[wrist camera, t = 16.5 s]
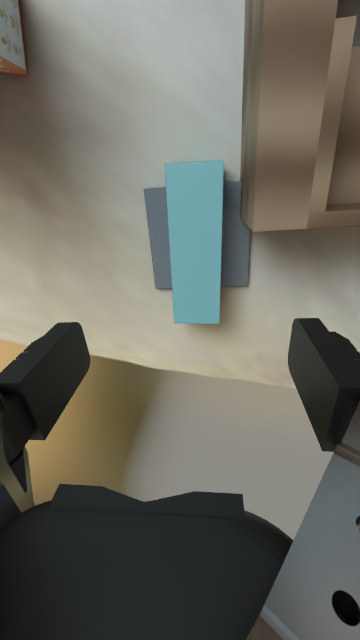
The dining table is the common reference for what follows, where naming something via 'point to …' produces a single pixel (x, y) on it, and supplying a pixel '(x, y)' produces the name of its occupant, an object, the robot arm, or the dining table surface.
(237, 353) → the dining table surface
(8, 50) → the cracker box
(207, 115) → the dining table surface
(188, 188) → the teal block
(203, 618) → the robot arm
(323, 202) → the board
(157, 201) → the grey mat
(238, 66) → the dining table surface
